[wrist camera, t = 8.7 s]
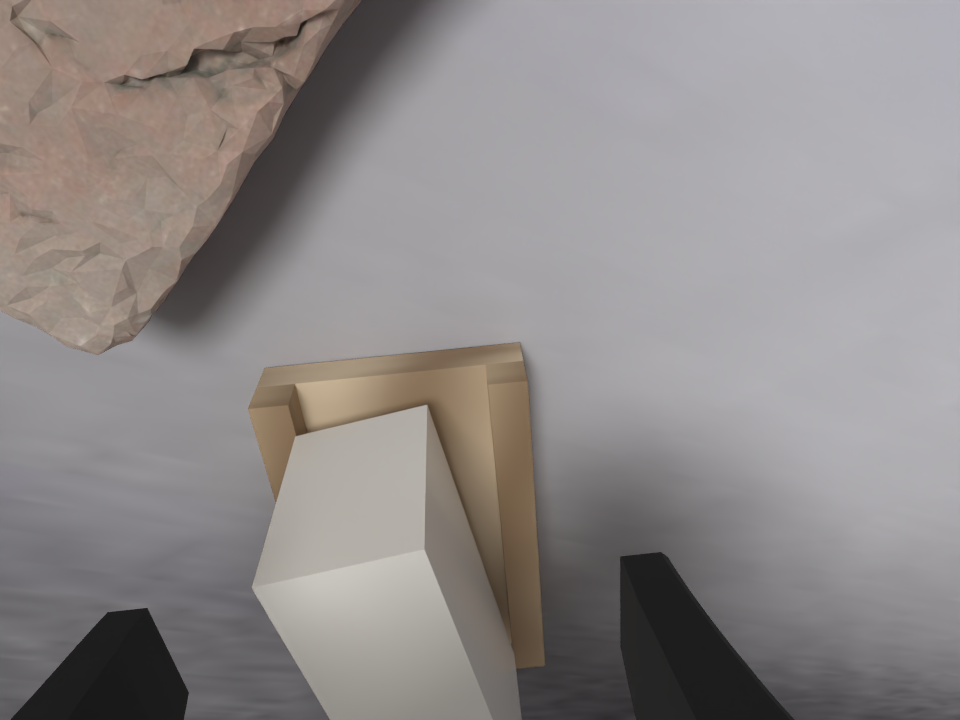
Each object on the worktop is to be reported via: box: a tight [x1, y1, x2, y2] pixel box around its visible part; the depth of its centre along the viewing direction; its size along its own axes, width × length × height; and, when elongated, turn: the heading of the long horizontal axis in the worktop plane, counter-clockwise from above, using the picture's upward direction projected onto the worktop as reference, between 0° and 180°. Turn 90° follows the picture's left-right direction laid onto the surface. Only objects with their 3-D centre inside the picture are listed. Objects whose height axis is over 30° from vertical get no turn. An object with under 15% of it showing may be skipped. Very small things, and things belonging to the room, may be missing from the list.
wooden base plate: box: [248, 342, 545, 669], centre depth 21 cm, size 7×11×2 cm, turn 5°
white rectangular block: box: [252, 405, 522, 720], centre depth 18 cm, size 10×4×5 cm, turn 14°
